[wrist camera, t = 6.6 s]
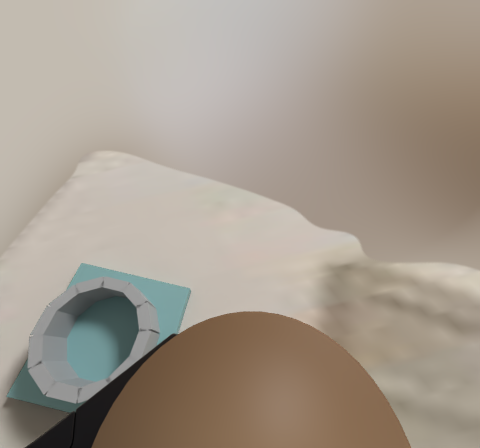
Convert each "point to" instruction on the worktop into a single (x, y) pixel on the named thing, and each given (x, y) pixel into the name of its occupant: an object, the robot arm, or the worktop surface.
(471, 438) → the worktop surface
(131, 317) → the ring stand
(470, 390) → the worktop surface
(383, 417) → the walnut peg
